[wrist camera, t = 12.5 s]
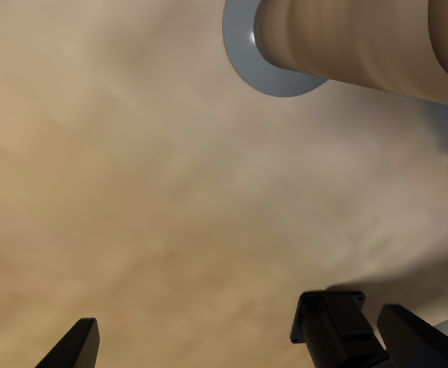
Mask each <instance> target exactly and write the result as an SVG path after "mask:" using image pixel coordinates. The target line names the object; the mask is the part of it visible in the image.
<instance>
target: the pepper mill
mask: <svg viewBox="0 0 448 368" xmlns="http://www.w3.org/2000/svg"><path fill="white" fill-rule="evenodd" d="M253 34H254V40H255V44H256V46H257V49H258V51H259V53H260V54H261V55H262V57H263V58H264V59H265V60H266V61H267V62H268V63H270V64H271V65H273V66H275V67H278V68H281V69H286V70H290V71H295V72H300V73H304V74H309V75H313V76H318V77H322V78H327V79H331V80H336V81H341V82H345V83H350V84H354V85H359V86H363V87H368V88H372V89H377V90H382V91H386V92H391V93H395V94H400V95H404V96H409V97H413V98H418V99H423V100H427V101H432V102H436V103H441V104H445V105H448V0H261V1H260V3H259V5H258V7H257V10H256V13H255V17H254V23H253Z"/></svg>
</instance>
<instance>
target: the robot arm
mask: <svg viewBox="0 0 448 368" xmlns="http://www.w3.org/2000/svg"><path fill="white" fill-rule="evenodd" d="M364 301H365V295H364V294H363V292H337V293H312V294H303V295H301V296H300V298H299V302H298V306H297V310H296V314H295V318H294V322H293V326H292V331H291V335H290V340H291V342H292V343H293V344H298V343H306V346H307V348H308V351H309V353H310V356H311V358H312V361H313V363H314V366H315V368H448V336H446V335H445V334H443V333H442V332H440V331H439V330H437V329H436V328H434V327H433V326H431V325H430V324H428V323H427V322H425V321H424V320H422V319H421V318H419V317H418V316H416V315H415V314H413V313H412V312H410V311H409V310H407V309H406V308H404V307H403V306H401V305H400V304H397V303H387V304H384V305H383V307H382V309H381V312H380V314H379V317H378V319H377V327H378V330H379V333H380V335H381V337H382V340H383V342H384V344H385V346H386V349H387V350H384V348H383V347H382V345H381V344H380V342H379V340H378V339H377V337H376V336H375V334H374V330H373V328H372V327H371V325H370V324H369V322H368V321H367V319H366V318H365V316H364V315H363V313H362V312H361V309H362V306H363V303H364ZM99 342H100V336H99V330H98V325H97V320H96V318H81V319H80V320H78V321H77V322H76V323H75V325H74V326H73V327H72V328H71V329H70V330H69V331H68V332H67V333H66V334H65V335H64V336H63V338H62V339H61V340H60V341H59V342H58V343H57V344H56V345H55V346H54V347H53V348H52V349H51V350H50V352H49V353H48V354H47V355H46V356H45V357H44V358H43V359H42V360H41V361H40V362H39V363H38V365H37V366H36V367H35V368H95V363H96V358H97V353H98V348H99Z"/></svg>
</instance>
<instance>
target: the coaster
mask: <svg viewBox="0 0 448 368" xmlns="http://www.w3.org/2000/svg"><path fill="white" fill-rule="evenodd" d="M260 1H261V0H226V3H225V7H224V12H223V21H222V32H223V41H224V45H225V49H226V53H227V55H228V58H229V60H230V62H231V64H232V66H233V68H234V69H235V71H236V72H237V74H238V75H239V76H240V77H241V78H242V79H243V80H244V81H245V82H246V83H247V84H248V85H250V86H251V87H253V88H255V89H256V90H258V91H260V92H262V93H264V94H267V95H271V96H276V97H293V96H298V95H301V94H305V93H307V92H309V91H312V90H314V89H315V88H317V87H319V86H320V85H321V84H323V83H324V82H325V81H327V80H328V79H327V78H322V77H318V76H313V75H309V74H304V73H300V72H295V71H290V70H286V69H281V68H278V67H275V66H273V65H271V64H270V63H268V62H267V61H266V60H265V59H264V58H263V57H262V55H261V54H260V53H259V51H258V49H257V46H256V44H255V40H254V34H253V23H254V17H255V13H256V10H257V7H258V5H259V3H260Z"/></svg>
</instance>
